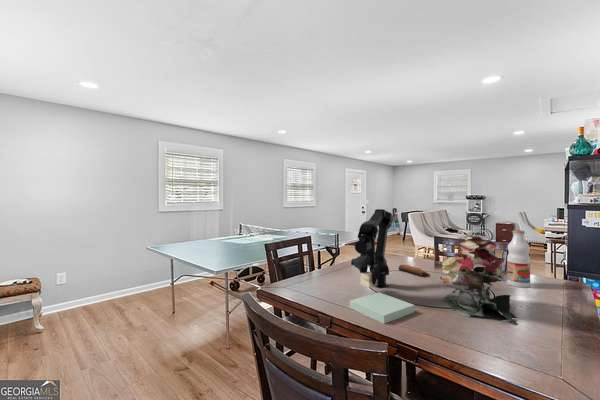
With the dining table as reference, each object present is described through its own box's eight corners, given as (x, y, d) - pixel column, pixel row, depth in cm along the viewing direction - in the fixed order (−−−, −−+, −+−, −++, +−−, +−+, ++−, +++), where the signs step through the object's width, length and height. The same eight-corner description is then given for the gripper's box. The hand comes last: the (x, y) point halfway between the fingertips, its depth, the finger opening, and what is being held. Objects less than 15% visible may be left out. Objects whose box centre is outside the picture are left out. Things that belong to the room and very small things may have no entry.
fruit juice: (514, 281, 153) (514, 229, 153) (534, 286, 145) (534, 231, 144) (503, 283, 150) (503, 230, 149) (522, 289, 141) (523, 232, 140)
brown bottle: (432, 275, 166) (428, 266, 164) (425, 282, 163) (421, 273, 162) (407, 268, 182) (403, 260, 180) (401, 275, 179) (397, 266, 178)
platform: (379, 298, 129) (379, 292, 129) (414, 312, 114) (414, 304, 114) (349, 307, 119) (349, 300, 119) (383, 323, 104) (383, 315, 104)
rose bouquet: (499, 298, 128) (499, 232, 128) (526, 327, 101) (527, 242, 100) (436, 292, 137) (436, 230, 136) (446, 317, 109) (445, 239, 109)
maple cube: (368, 282, 139) (368, 271, 139) (377, 285, 135) (377, 273, 135) (360, 284, 136) (360, 273, 136) (369, 287, 132) (369, 275, 132)
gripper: (342, 248, 139) (342, 280, 139) (371, 255, 123) (372, 291, 123) (359, 246, 145) (359, 277, 145) (389, 252, 129) (389, 286, 129)
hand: (369, 282), depth 135 cm, fingers closed on maple cube, 5 cm apart
